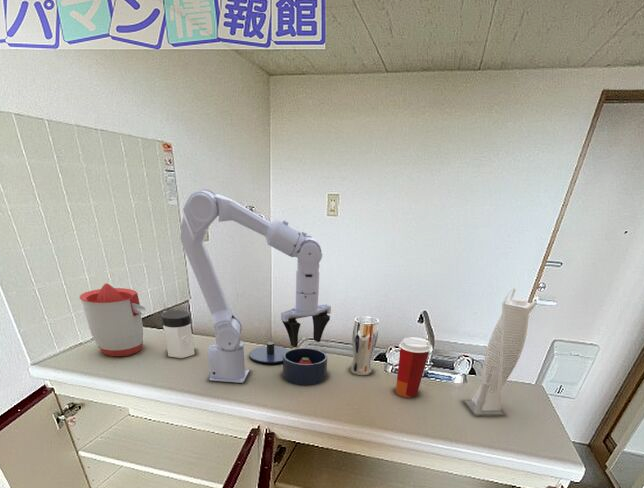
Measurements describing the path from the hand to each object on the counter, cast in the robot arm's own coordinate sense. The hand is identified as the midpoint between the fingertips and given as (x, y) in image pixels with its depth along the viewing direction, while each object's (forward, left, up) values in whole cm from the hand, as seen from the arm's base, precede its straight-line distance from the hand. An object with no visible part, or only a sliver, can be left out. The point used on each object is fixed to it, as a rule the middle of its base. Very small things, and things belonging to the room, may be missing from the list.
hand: (305, 343), depth 109 cm
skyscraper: (+47, -11, -10) cm, 49 cm away
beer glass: (+16, +6, -10) cm, 20 cm away
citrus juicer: (-58, +9, -10) cm, 59 cm away
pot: (0, 0, -9) cm, 9 cm away
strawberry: (0, 0, -9) cm, 9 cm away
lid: (-12, +12, -9) cm, 19 cm away
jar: (-40, +10, -10) cm, 42 cm away
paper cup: (+28, -6, -10) cm, 30 cm away
